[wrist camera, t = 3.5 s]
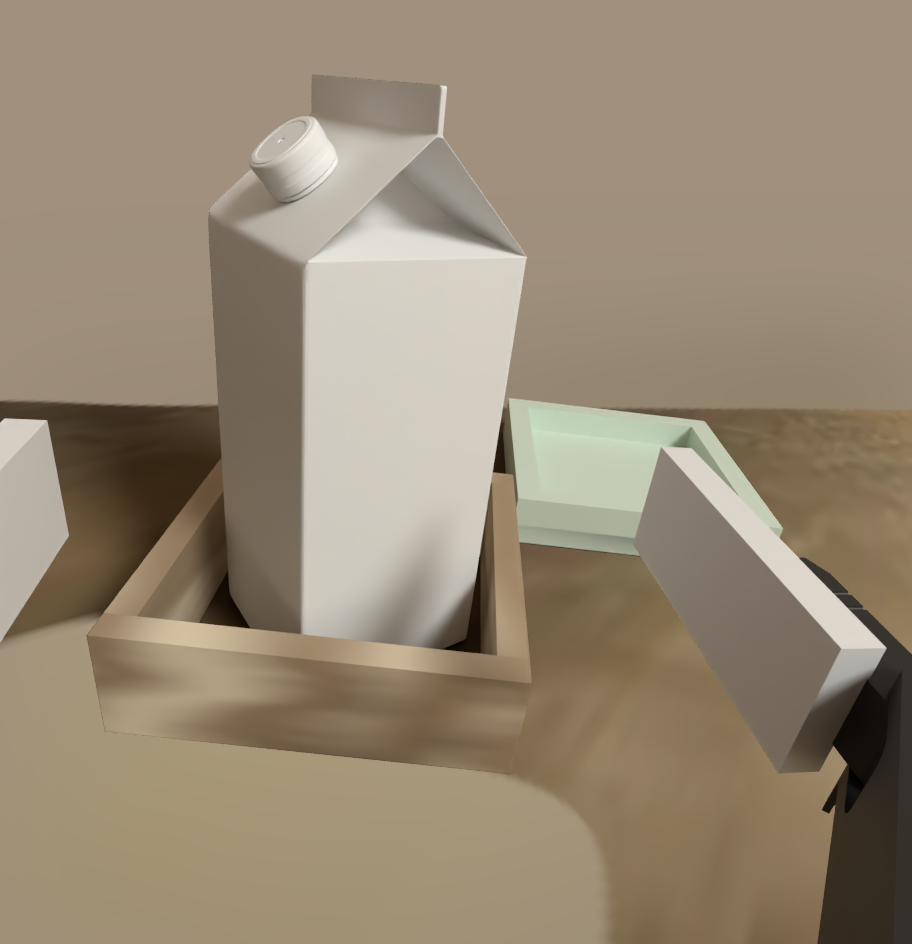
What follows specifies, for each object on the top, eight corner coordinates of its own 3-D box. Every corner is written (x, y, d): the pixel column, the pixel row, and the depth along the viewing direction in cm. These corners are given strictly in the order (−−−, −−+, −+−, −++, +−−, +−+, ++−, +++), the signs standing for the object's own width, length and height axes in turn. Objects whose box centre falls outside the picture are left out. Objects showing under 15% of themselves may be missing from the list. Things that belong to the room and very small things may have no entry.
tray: (510, 541, 34) (518, 498, 32) (503, 432, 45) (508, 397, 44) (766, 570, 34) (783, 528, 33) (694, 454, 45) (704, 421, 44)
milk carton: (378, 550, 32) (411, 88, 23) (467, 643, 27) (553, 102, 18) (227, 595, 28) (195, 57, 19) (300, 714, 23) (304, 64, 14)
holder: (105, 731, 21) (86, 635, 19) (236, 515, 33) (233, 442, 31) (511, 774, 22) (531, 683, 20) (500, 545, 33) (513, 474, 31)
